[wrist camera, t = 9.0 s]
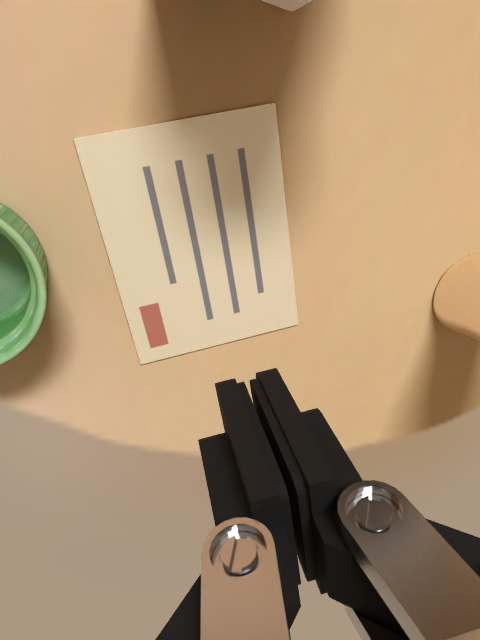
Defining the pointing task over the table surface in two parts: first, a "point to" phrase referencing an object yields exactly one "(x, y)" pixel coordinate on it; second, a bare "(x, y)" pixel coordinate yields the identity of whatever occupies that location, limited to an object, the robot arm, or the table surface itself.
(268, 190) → the letter
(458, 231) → the table surface
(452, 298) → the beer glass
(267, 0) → the container
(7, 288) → the ramekin
